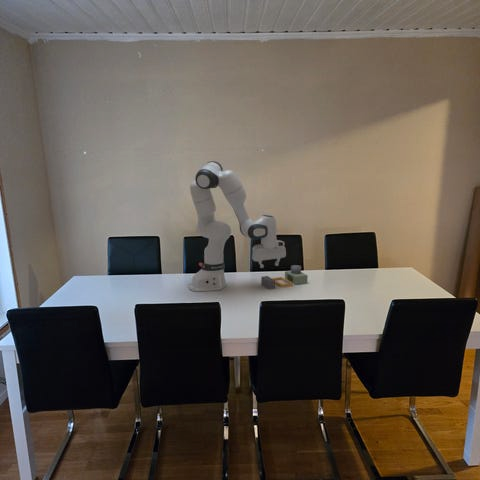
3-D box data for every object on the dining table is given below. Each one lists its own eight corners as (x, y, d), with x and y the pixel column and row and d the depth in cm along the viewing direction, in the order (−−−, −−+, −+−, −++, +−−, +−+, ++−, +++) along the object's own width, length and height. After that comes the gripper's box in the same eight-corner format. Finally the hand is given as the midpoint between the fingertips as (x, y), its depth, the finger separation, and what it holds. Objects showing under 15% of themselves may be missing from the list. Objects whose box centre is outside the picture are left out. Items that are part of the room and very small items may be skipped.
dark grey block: (269, 289, 218) (269, 281, 217) (261, 284, 227) (261, 276, 226) (275, 288, 219) (275, 280, 218) (267, 283, 228) (267, 275, 227)
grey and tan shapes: (281, 287, 221) (281, 272, 219) (270, 280, 234) (270, 266, 232) (307, 283, 228) (308, 268, 226) (295, 277, 240) (296, 263, 239)
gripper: (254, 246, 211) (255, 270, 214) (287, 242, 218) (287, 265, 221) (249, 244, 217) (250, 267, 220) (282, 240, 224) (282, 262, 227)
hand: (269, 266), depth 221 cm, fingers open, 8 cm apart
